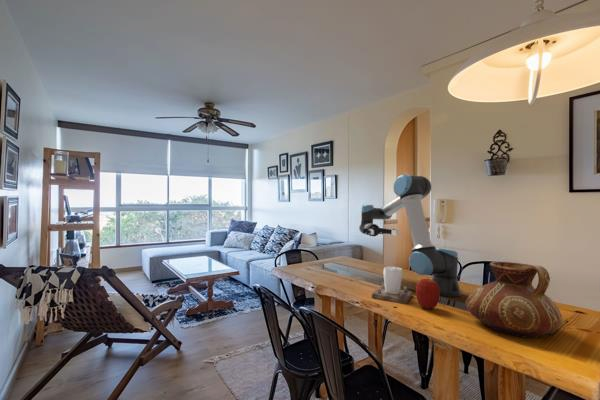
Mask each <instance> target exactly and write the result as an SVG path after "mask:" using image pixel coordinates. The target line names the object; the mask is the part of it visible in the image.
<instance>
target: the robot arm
mask: <svg viewBox="0 0 600 400" xmlns="http://www.w3.org/2000/svg"><path fill="white" fill-rule="evenodd" d="M431 191H432V183H431V181H430V180H429V179H428V178H427V177H426V176H422V175H414V174H413V175H412V174H401V175H399V176H398V177H397V178H396V179H395V181H394V183H393V192H394V194H395V195H396V196H397V197H396V198H394V199H393V200H391V201H390V202H388V203H387V204H385V205H384V206H381V207H374V205H373V204H362V205H361V221H360V225H359V227H358V228H359V232H360V233H361V234H364V235H367V236H369V237H376V236H378V235H384V234H385V235H386V234H387V235H392V236H395V237H396V236H397V237H398V235H399V234H398V231H399V230H398V229H395V228H392V229H388V228H383V227H379V226H378V224H375V223H374V220H383V221H384V220H390V219H392V217H393V215H394V214H396V213H397V212H399V211H401V210H403V209H405V213H406V217H407V222H408V226H409V231H410V237H411V238H412V239H411V240H412V244H413V247H412V249H411V254H410V255H409V258H408V260H409V261H408V262H409V266H410V268H411V270H413V272H414V273H416V274H417V275H420V276H431V275H432V278H431V280H433V281H435V282H436V283H437V284H438V286H439V289H440V296H441V297H448V298H449V297H452V298H453V297H454V298H457V297H460V296H461V293H462V291H461V287H460V285H459V282H458V264H459V263H458V262H459V261H458V260H459V257H458V255H459V254H458V251H456V250H451V249H444V248H439V247H436V246H435V245H434V244H432V241H431V237H430V233H429V230H428V226H427V220H426V217H425V213H424V209H423V204H422V200H423V199H425V198H426V197H427V196H428V195H429V194H430V193H431Z"/></svg>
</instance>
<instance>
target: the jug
mask: <svg viewBox="0 0 600 400" xmlns="http://www.w3.org/2000/svg"><path fill="white" fill-rule="evenodd" d="M489 266H490V268H491V270H492V273H493V274H494V276H495V280H494V281H493V282H490V283H489V282H488V283H486V284H483V285H481V286H478V287H477V288H475V289H474V290H472V291H471V292H470V293H469V295H468V296H467V297H466V299H465V306H466V308H467V310H468V312H470V313H471V315H472V316H473V317H475V318H476V319H477V320H479V321H480V322H482V323H483V324H484V325H486V326H488V328H491V329H493V330H495V329H496V330H495V331H498V332H501V333H504V334H508V335H511V334H512V336H517V335H518V337H522V336H525V337H524V338H538V337H542V336H544V335H545V336H546V335H548V334H551V333H553V332H555V331H556V330H557V329H558V328H559V327H560V326H561V324H562V321H563V318H562V313H561V312H560V309H559V307H558V306H557V304H556V303H555V302H554V301H553V299H552V298H551V297H549V296H548V295H546V294H545V293H546V292H547V289H548V288H549V285H550V281H551V276H550V273H549V271H548V270H547V268H545V267H544V266H542V265H538V264H537V265H533V264H527V263H519V262H512V261H491V262H490V263H489ZM536 275H537V277H538V282H537V285H536V288H535V287H534V286H533V281H534V279H535V278H536Z"/></svg>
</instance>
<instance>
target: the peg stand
mask: <svg viewBox="0 0 600 400" xmlns="http://www.w3.org/2000/svg"><path fill="white" fill-rule="evenodd" d="M412 296H413V291H412V290H411V291H410V290H408V286H403V289H400V292H399V294H389V293H386V292H385V284H384V283H382V286H379V287H377V289H376V290H375V291H373V292H372V293H371V299H378V300H383V301H388V302H394V303H400V304H405V305H407V304H408V302H409V301H410V299H411V298H412Z"/></svg>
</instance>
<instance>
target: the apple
mask: <svg viewBox="0 0 600 400" xmlns="http://www.w3.org/2000/svg"><path fill="white" fill-rule="evenodd" d="M415 296H416V299H417V302H418V305H420V307H422V309H426V310H427V309H428V310H429V309H430V310H431V309H434V308H435V307H437V306H438V303H439V301H440V296H441V295H440V289H439V286H438V284H437V283H436V282H435V281H433V280H432V278H422V279H420V280H418V282H417V284H416V287H415Z"/></svg>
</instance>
